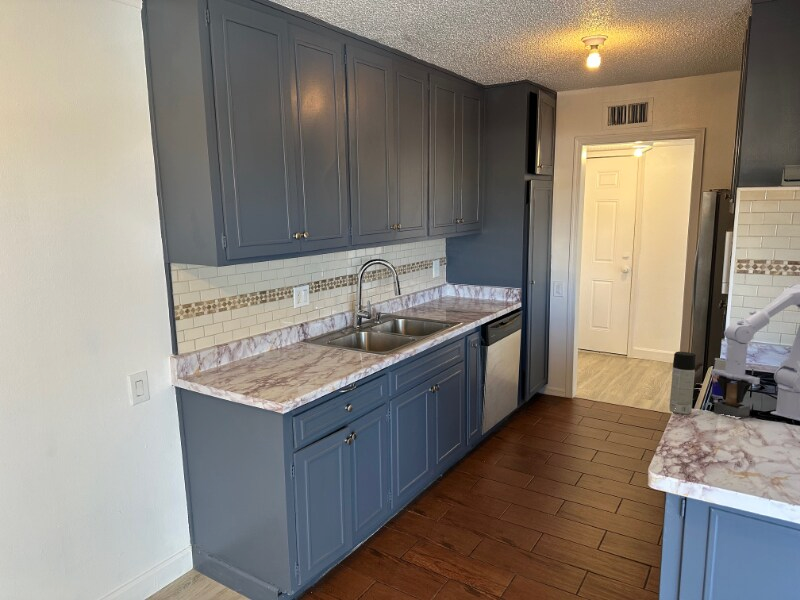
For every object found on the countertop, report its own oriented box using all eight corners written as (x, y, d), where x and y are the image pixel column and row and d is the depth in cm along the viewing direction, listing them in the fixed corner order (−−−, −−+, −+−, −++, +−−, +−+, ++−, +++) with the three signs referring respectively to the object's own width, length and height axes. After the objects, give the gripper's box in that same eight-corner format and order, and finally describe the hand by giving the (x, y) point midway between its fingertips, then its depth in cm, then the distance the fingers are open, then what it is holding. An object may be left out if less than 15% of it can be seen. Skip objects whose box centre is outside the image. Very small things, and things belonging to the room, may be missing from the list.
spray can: (693, 412, 188) (698, 353, 186) (687, 416, 183) (692, 355, 181) (672, 407, 192) (677, 350, 191) (666, 411, 187) (670, 352, 186)
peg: (741, 408, 185) (743, 385, 185) (735, 410, 183) (737, 386, 183) (728, 405, 189) (730, 382, 188) (722, 407, 187) (724, 383, 186)
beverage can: (712, 396, 210) (716, 356, 208) (728, 398, 207) (731, 359, 205) (709, 398, 206) (713, 358, 204) (725, 401, 203) (729, 360, 201)
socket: (749, 416, 185) (750, 405, 185) (737, 419, 181) (738, 408, 181) (725, 410, 191) (726, 400, 191) (713, 412, 187) (714, 402, 187)
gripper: (707, 357, 188) (704, 396, 190) (753, 365, 176) (749, 407, 178) (718, 355, 192) (715, 394, 194) (764, 364, 180) (760, 405, 181)
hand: (732, 400), depth 186 cm, fingers closed on peg, 4 cm apart
